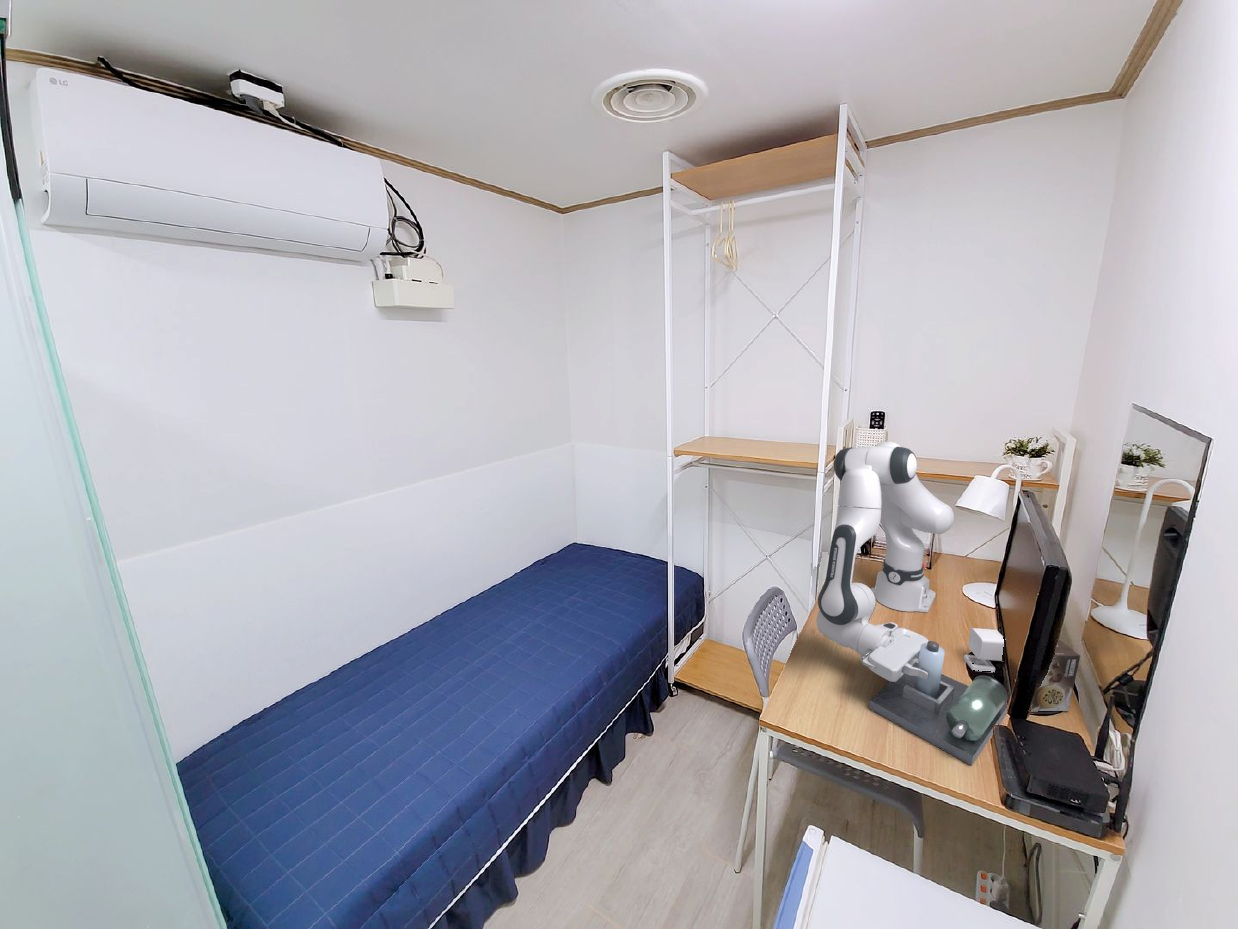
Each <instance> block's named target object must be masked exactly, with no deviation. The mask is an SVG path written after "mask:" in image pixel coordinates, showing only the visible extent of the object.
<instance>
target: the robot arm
mask: <svg viewBox="0 0 1238 929" xmlns="http://www.w3.org/2000/svg"><path fill="white" fill-rule="evenodd" d="M833 470H834V474H835V475H836V478H837V479H838V480H839V481H840V486H839V491H838V499H837V507H836V508H837V510H836V520H835V527H834V531H833V533H832V534H833V535H832V537H831V543H830V546H829V547H830V549H829V555H828V562H827V568H826V573H825V574H826V576H825V580H824V583H823V586H822V587H821V590H820V592H819V593H818V597H817V605H818V606H817V607H818V609H819V611H818V613H817V615H816V627H817V629H818V632H819V633H820V634H821V635H823V636H824V637H826V638H827V639H829V640H831V641H832V642H834V643H836V644H838V645H840V646H841V647H844V648H848V649H851V650H853V651H854V652H856V654H858V655H860V662H861V663H862V664H863V665H864V666H866V667H867V668H868V669H869V670H870V671H871V672H873V673H875V674H876V675H878V676H879V677H881V678H883V679H885V680H886V681H889V682H890V681H892V682H896V681H897V680H898V679H899V678H900V677H901V676H902V675H903V674H904V673H905V674H908V675H911V676H919V677H921V678H923V679H927V678H928V677H929V673H930V672H929V671H928V670H925V669H924V668H921V669H919V668H915V667H912V666H913V665H914V664H915V663H918V661H919V654H920V647H921V645H922V644H924V643H928V641H929V640H928V638H927V637H926V636H924V635H922V634H920V633H917V632H915V631H912V630H911V629H908V628H904V627H899V625H898V624H897V623H895V622H892V621H891V622H887V623H883V624H882V623H881V624H876V625H875V624H874V623H870V622H869V621H870V619H871V617H872V616H873V614H874V612H875V608H876V606H877V602H879V603H880V604H881V605H883V606H885V607H887V608H889V609H893V610H897V611H901V612H909V613H910V612H912V613H913V612H920V613H929V612H930V609H931V607H932V605H933V603H934V601H935V599H936V596H937V593H936V592H935V591H933V590H932V589H931V588H930V582H931V581H930V579H929V578H928V577H927V576H925V575H924V573H925V570H924V569H926V567H927V563H926V562H924V556H925V555H924V554H925V545H924V542H923V540H921V538H919V536H917V535H916V533H915V532H914V531H913V530H917V531H920V532H923V533H929V534H935V535H936V534H937V535H941V534H942V535H943V534H945V533H947V532H948V531H949V530H951V528H952V526H953V525H954V522H955V513H954V510H953V509H952V507H951V506H950V505H949V504H947V503H945V502H943V501H942V500H940V499H939V498H937V496H935V495H934V494H933V493H931V492H930V491H929V490H928V489H927V488H926V487H925V485H923V483H922V482H921V481H920V479H919V477H918V475H917V470H918V461H917V457H916V454H915V453H914V452H913V451H912V450H911V449H910V448H906V447H904V446H901V444H899V443H897V442H895V441H890V440H889V441H882V442H879V443H877V444H875V445H873V446H860V447H845V448H842V449H840V450H839V451H838V452H837V453H836V455H835V457H834V461H833ZM880 525H881V527H882V529H883V532H884V535H885V557H884V559H883V563H882V569H881V570H880V571H878V573H877V576H876V581H875V586H873V587H871V588H870V587H869V586H868V585H867V584H865V583H862V582H859V581H855V582H853V575H854V568H855V562H856V561H855V559H856V557H857V553H858V551H859V550H860V549H861V547H862V546H863V545H864V544H865V543H866V542H867V541H869V540H870V539H872V538H873V537H874V536H875V535H876V534H877V533H878V530H879V528H880Z"/></svg>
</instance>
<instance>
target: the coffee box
mask: <svg viewBox="0 0 1238 929" xmlns="http://www.w3.org/2000/svg"><path fill="white" fill-rule="evenodd" d="M1057 640H1058V644H1057V646H1056V649H1055V655H1054V657H1053V659H1052V662H1051V665H1050V667H1049V670H1048V673H1047V675H1046V676H1045V678H1044V680H1043V681H1042V684H1041V686H1040V687H1039V688H1038V689H1037V692H1036V696H1035V699H1034V701H1033V704H1032V705H1031V711H1029V712H1031V713H1039V712H1038V711H1066V710H1068V711H1069V710H1070V706H1071V705H1070V704H1071V700H1072V696H1073V695H1072V694H1073V690H1074V687H1075V682H1076V677H1077V674H1078V669H1079V663H1080V658H1081V655H1080V654H1079V653H1078V652H1076V651H1075V650H1074V649H1072V648H1071V647H1070V646H1069V645H1068V644H1066V643H1065V642H1063V641H1062V640H1060V639H1057Z"/></svg>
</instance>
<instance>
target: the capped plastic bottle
mask: <svg viewBox="0 0 1238 929" xmlns="http://www.w3.org/2000/svg"><path fill="white" fill-rule="evenodd" d="M945 653H946V652H945V650H944V648H942V646H940V643H938V642H936V641H934V640H928V643H924V644H922V645H921V647H920V654H919V660H918V661H917V663H918V668H919V669H921V668H924V669H925V670H928V671H929V672H930V673H929V677H928V678H927V679H923V678H921V677H919V676H916V681H915V689H916V690H918V691H920V692H922V693H924V694H926V695H928V696H930V697H932V698H935V697H937V696H938V691H939V685H940V679H941V674H942V671H943V665H944V659H945Z"/></svg>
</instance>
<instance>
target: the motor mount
mask: <svg viewBox="0 0 1238 929" xmlns="http://www.w3.org/2000/svg"><path fill="white" fill-rule="evenodd" d="M912 667H915V668H918V662H916V663H915V664H914V665H913V666H912ZM915 681H916V676H911V675H908V674H905V673H904V674H903V675H902V676H901V677H900V678H899V679H898V680H897V681H896V682H892V681H889V682H888V683H887V684H886V685H885V686H884V687H883V688H882V689H881V690H880V691H879V692H878V693H876V694H875V695H874V696H873V698H871V699H870V700H869V709H868V710H870V711H873V713H876V714H878V715H879V716H881V717H883V718H885V719H886V720H888V721H890V722H892V723H894V724H895V725H897V726H899V727H900V728H902V729H904V730H906V731H908V732H910V733H911V734H914V735H915V736H917V737H919V738H921V739H922V740H923V741H926V742H928V743H929V744H931V745H933V746H934V747H936V748H939V749H940V748H941V750H942V749H943V750H942V751H944V752H945V753H947V754H949V755H951V756H952V757H954V758H956V759H958V760H959V761H961V760H962V762H963V761H964V762H963V763H965V764H966V765H969V766H970V767H972V766H973V764H974V763H975V761H976V759H978V757H979V756H980V754H981V753H982V751H983V749H984V748H985V747H986V745H987V744H988V742H989V741H990V739H991V738H990V737H992V736H993V735H994V733H993V726H994V725H996V724H999V725H1001V723H1002V721H1003V719H1004V718H1005V717H1006V715H1007V714H1006V711H1007V704H1008V703H1007V701H1008V698H1009V694H1008V691H1007V689H1006V687H1005V686H1004V685H1003V683H1001V682H1000V681H999V680H997V679H996V678H994V677H992V676H989V675H978V676H976V677H975V678H974V679H973V680H972V681H971V682H970V684H969V685H967V684H966V683H963V682H961V681H958V680H956V679H953V678H952V677H949V676H947V675H945V674H942V673H941V679H940V685H939V691H938V696H937V697H935V698H932V697H930V696H928V695H926V694H924V693H922V692H920V691H918V690H916V689H915ZM1007 712H1008V711H1007ZM1000 722H1001V723H1000ZM992 734H993V735H992Z"/></svg>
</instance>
